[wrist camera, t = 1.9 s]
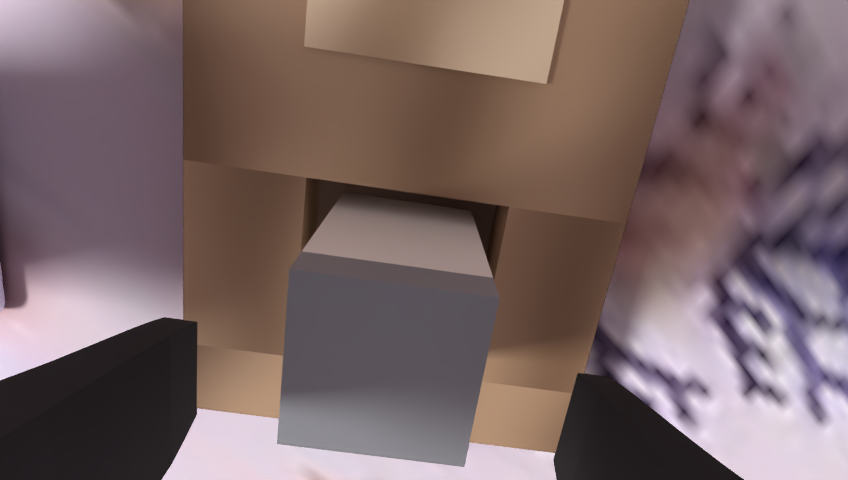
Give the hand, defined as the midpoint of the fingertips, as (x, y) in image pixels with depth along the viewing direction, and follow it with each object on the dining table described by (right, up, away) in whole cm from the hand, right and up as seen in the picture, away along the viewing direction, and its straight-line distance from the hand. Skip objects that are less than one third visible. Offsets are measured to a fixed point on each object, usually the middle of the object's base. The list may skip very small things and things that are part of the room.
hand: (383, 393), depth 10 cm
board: (+1, +6, +6) cm, 9 cm away
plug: (0, +2, +7) cm, 7 cm away
